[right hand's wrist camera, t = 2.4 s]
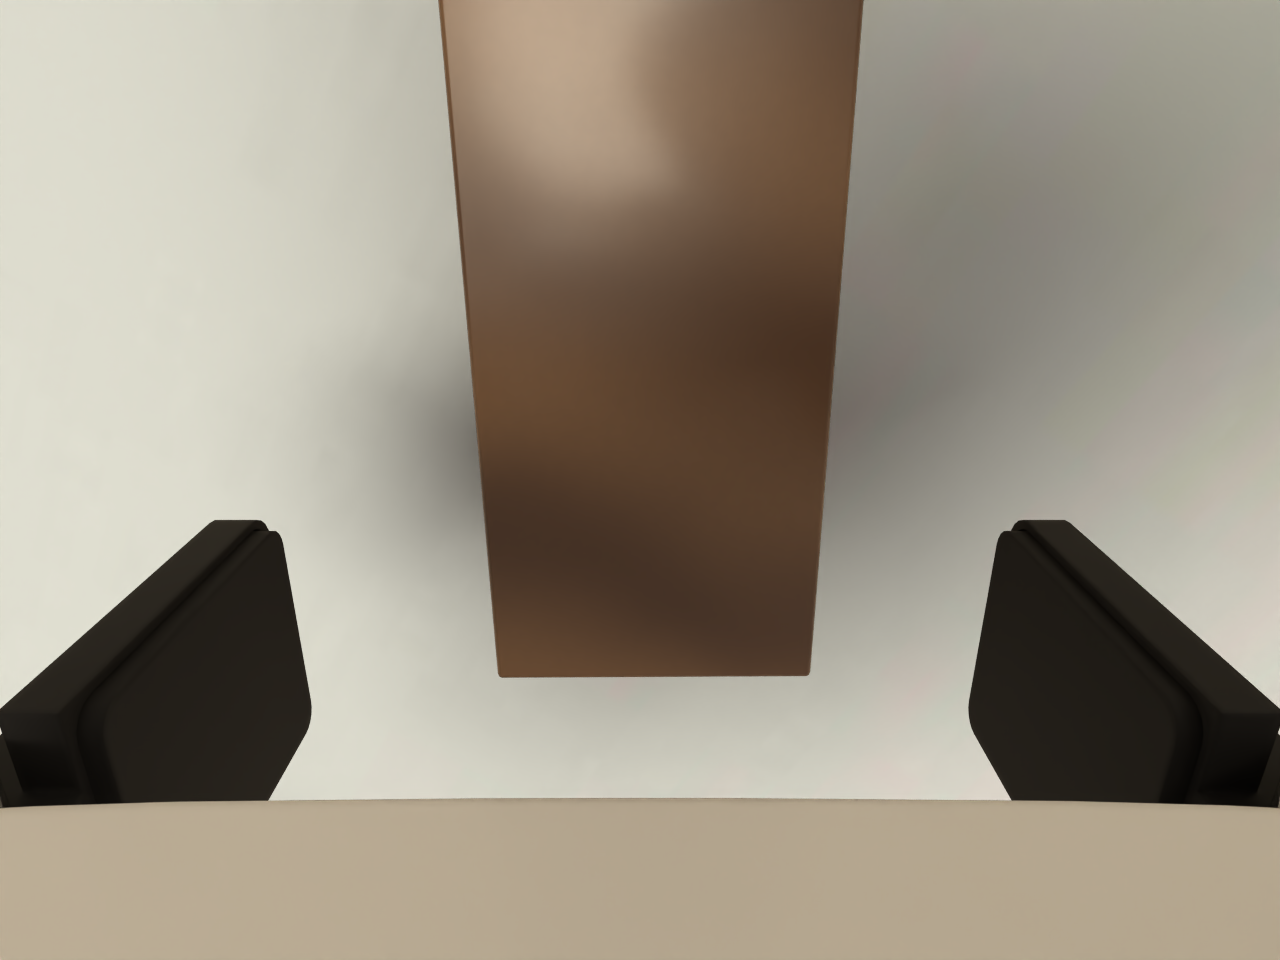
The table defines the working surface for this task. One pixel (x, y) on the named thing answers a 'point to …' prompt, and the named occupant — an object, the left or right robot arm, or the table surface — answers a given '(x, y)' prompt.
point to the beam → (652, 320)
